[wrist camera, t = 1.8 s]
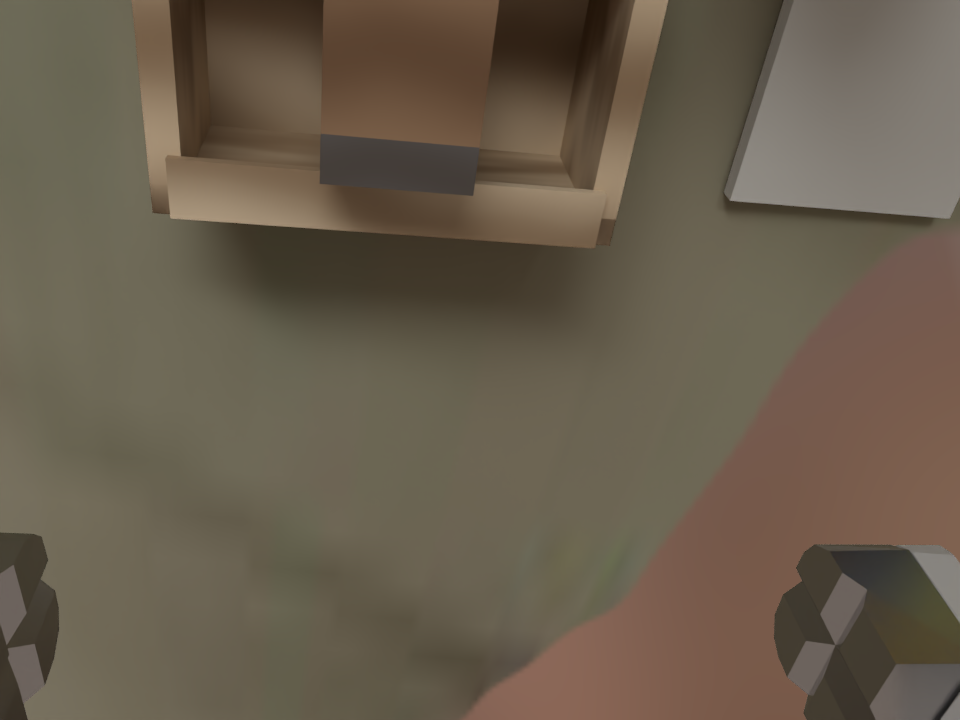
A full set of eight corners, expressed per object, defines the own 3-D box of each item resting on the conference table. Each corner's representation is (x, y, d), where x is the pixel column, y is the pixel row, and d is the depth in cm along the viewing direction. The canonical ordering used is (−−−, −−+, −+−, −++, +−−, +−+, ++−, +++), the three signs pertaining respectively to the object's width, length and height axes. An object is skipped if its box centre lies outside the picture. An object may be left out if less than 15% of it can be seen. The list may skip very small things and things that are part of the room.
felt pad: (825, -136, 29) (836, -133, 28) (1084, -97, 30) (1100, -94, 30) (723, 192, 36) (730, 200, 35) (939, 210, 37) (949, 218, 36)
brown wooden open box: (161, -227, 26) (106, -223, 20) (644, -156, 28) (704, -136, 23) (187, 142, 32) (150, 217, 27) (576, 175, 34) (611, 249, 29)
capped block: (337, -106, 27) (325, -63, 21) (475, -88, 28) (504, -42, 22) (331, 94, 31) (319, 183, 24) (453, 106, 32) (472, 196, 25)
